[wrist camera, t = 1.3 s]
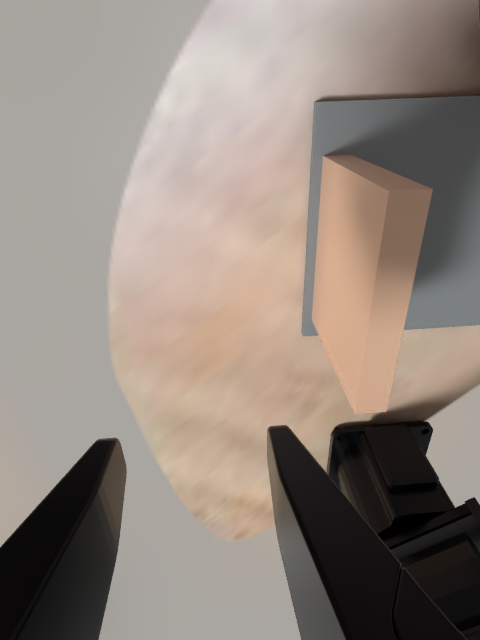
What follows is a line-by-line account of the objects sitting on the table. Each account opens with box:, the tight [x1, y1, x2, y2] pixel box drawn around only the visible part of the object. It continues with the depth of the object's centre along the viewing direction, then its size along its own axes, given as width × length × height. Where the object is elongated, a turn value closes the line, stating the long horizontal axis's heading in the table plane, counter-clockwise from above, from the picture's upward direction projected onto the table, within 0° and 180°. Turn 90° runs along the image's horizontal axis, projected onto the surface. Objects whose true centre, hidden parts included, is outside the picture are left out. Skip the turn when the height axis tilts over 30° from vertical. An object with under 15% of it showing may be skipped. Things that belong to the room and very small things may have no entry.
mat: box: [302, 95, 480, 336], centre depth 19 cm, size 11×10×1 cm
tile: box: [312, 155, 433, 414], centre depth 16 cm, size 8×1×7 cm, turn 2°
